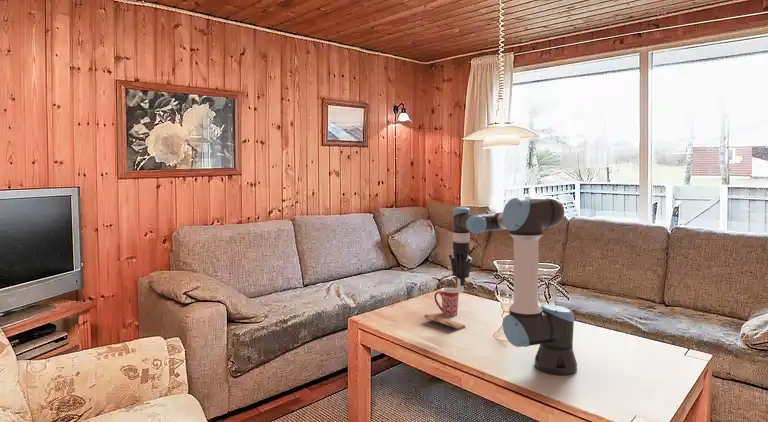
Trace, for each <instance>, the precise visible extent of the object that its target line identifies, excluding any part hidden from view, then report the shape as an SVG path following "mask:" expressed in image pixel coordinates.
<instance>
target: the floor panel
mask: <svg viewBox="0 0 768 422" xmlns="http://www.w3.org/2000/svg"><path fill="white" fill-rule="evenodd" d="M433 317H434V316H433ZM434 318H437V319H440V320H443V321H446V322H449V323H452V324H454V325H456V326H459V327H460V328H459V329H456V328H453V327H450V326H447V325H444V324H441V323H438V322H435V321H432V320H428V321H425V322H422V323H421V324H422V325H425V326H428V327H431V328H434V329H436V330H439V331H442V332H445V333H448V334H452V333H456V332H458V331H461V330H464V329H467V327H466V324H463V323H460V322H456V321H453V320H452V319H451V320H450V319H448V318H444V317H441V316H439V315H438V316H435V317H434Z"/></svg>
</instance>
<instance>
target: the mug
mask: <svg viewBox="0 0 768 422" xmlns="http://www.w3.org/2000/svg"><path fill="white" fill-rule="evenodd" d="M438 294H439V295H440V297H441V305H440V304H439V301H438V299H437V295H438ZM459 294H460V293H458V292H457V287H456V288H455V287H443V288H441V289H440V291H437V292H435V293H434V295H433V296H434V302H435V304H436V305H437V307H438V308H439V310H440V311H441V313H442V315H443V316H444V317H447V318H452V317H453V318H454V317H456V316H458V311H459V310H458V308H459V307H458V306H459V296H460V295H459Z"/></svg>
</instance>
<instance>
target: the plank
mask: <svg viewBox="0 0 768 422" xmlns="http://www.w3.org/2000/svg"><path fill="white" fill-rule="evenodd" d="M424 318H426V319H427V320H429V321H431V320H432V321H435V322H438V323H441V324H444V325H447V326H450V327H453V328H456V329H459V328H460V327H459V326H456V325H454V324H452V323H449V322H446V321H443V320H440V319H437V318H434V316H430V315H427V314H425V315H424Z"/></svg>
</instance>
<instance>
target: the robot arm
mask: <svg viewBox="0 0 768 422" xmlns="http://www.w3.org/2000/svg"><path fill="white" fill-rule="evenodd" d="M452 211H453V213H452V241H453V242H452V250H453V251H452V254H449V255H448V257H449V260H450V265H451V266H450V267H451V270H452V276H453V277H455V278H456V280H455V284H456V285H457V286H456V289H457V292H458V293H459V294H461V293H464V291H465V289H464V287H465V284H466V280H465V279H468V278H470V277H469V276H470V273H471V267H472V263H473V262H474V258H473V257H471V256H470V253H469V252H470V251H469V250H470V245H471V244H470V242H469V241H470V238H471V237H470V236H471V235H470V234H471V233H473V234H481V233H483V232H490V231H506V230H508V231H509V235H510V237H512V239H513V304H511V306H509V309H508V310H509V311H508V312H509V314H507V315H505V316H504V317H503V319H502V330H503V333H504V336H505V338H506V339H507V340H508V342H509V344H511V345H512V346H514V347H515V348H516V347H517V348H522V347H524V348H527V347H531V346H536V345H539V346H538V349H537V351H536V354H535V356H534V357H535V358H534V367H535V368H536V369H537V370H538V371H541V372H543V373H545V374H549V375H555V376H568V375H572V374H575V373H576V372H578V371H577V370H578V363H577V359H576V356H575V353H574V348H573V347H574V345H573V344H574V342H573V341H574V324H575V320H574V312H573V311H572V310H571V309H570V308H567V307H565V306H561V305H556V304H542V305H541V306H540V305H539V246H540V245H539V243H540V242H539V240H540V239H541V238H542V237H543V236H544V229H550V228H553V227H555V226H558V225H559V224H561V222H562V221H563V219H564V218H565V207H564V205H563V204H562V202H561V201H560V200H559V199H557V198H556V197H553V196H549V195H544V196H519V197H513V198H510V200H508V201H507V203H505V205H504V207H503V211H502V212H496V213H493V212H492V213H478V214H476V213H475V214H473V213H471V209H470V208H469V207H464V206H458V207H454V208H453V210H452Z"/></svg>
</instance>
